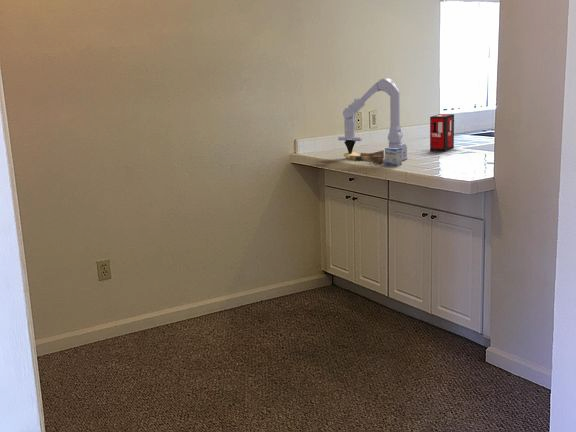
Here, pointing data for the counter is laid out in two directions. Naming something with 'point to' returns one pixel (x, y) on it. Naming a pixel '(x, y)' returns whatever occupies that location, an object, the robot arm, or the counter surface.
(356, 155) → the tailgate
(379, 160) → the walnut crate
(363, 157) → the brown wooden drawer
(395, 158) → the medicine box
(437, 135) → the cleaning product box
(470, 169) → the counter surface
